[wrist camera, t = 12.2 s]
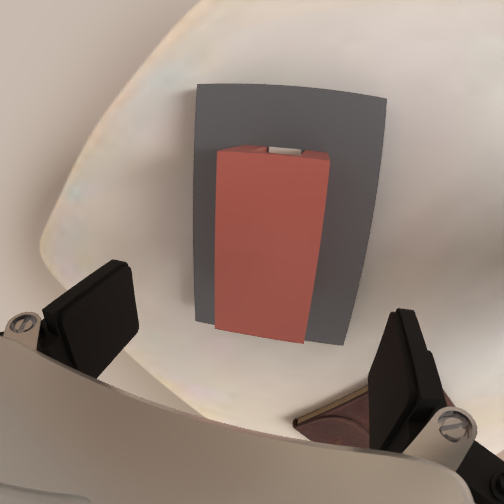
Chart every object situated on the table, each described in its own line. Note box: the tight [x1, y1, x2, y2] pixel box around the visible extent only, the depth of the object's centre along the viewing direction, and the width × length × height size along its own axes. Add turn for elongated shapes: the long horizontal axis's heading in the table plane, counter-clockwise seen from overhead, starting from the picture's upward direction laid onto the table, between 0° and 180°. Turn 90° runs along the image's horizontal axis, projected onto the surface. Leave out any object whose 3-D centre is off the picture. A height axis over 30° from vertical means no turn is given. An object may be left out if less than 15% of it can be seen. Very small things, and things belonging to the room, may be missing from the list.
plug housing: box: [215, 145, 330, 344], centre depth 18 cm, size 5×10×6 cm, turn 177°
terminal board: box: [193, 84, 387, 346], centre depth 20 cm, size 12×18×6 cm, turn 176°
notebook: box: [293, 385, 455, 449], centre depth 28 cm, size 15×20×2 cm
